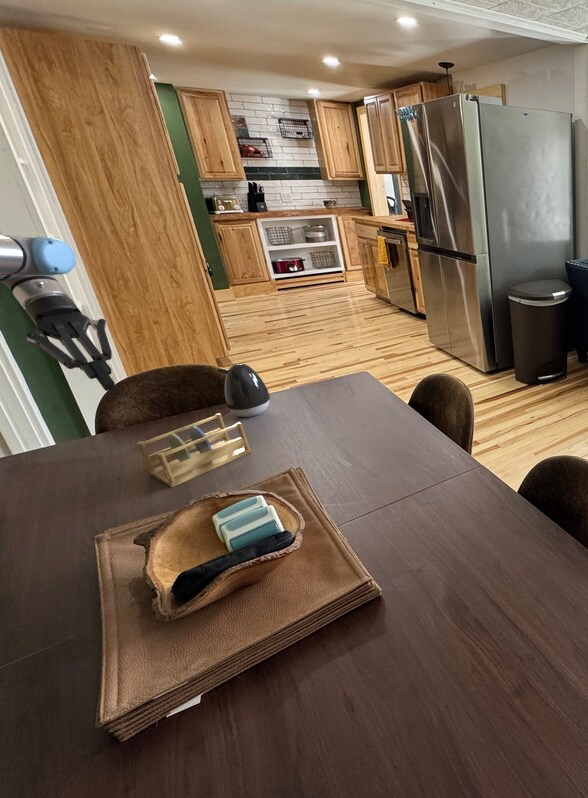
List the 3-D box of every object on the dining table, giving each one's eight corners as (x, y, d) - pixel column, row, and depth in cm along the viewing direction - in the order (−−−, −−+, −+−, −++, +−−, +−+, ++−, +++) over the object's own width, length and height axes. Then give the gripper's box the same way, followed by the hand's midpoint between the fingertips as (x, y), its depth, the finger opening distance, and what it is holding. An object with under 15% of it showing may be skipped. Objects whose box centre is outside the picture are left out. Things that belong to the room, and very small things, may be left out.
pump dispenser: (241, 406, 140) (226, 358, 135) (279, 403, 142) (266, 356, 136) (222, 422, 131) (205, 372, 125) (263, 419, 133) (248, 370, 127)
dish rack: (172, 487, 102) (156, 451, 98) (149, 474, 106) (134, 438, 102) (251, 452, 115) (240, 418, 111) (229, 441, 119) (217, 409, 115)
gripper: (3, 300, 98) (69, 389, 98) (87, 288, 109) (147, 368, 108) (7, 321, 103) (70, 406, 102) (87, 307, 113) (145, 384, 113)
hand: (110, 386), depth 105 cm, fingers closed
